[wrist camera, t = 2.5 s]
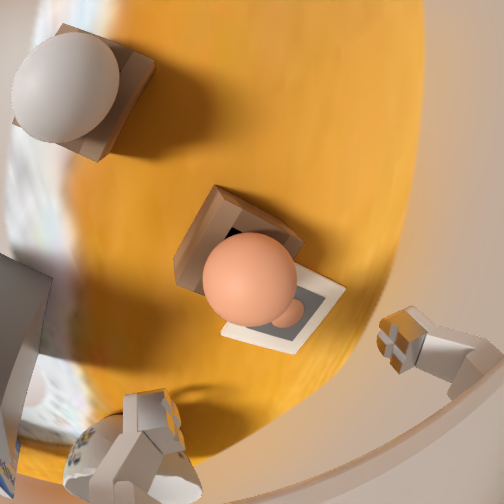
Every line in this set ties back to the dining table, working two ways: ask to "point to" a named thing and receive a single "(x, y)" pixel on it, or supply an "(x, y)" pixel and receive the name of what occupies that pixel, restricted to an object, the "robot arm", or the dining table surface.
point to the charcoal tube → (18, 342)
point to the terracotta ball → (249, 279)
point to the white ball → (65, 87)
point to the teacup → (97, 446)
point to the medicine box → (9, 474)
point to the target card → (293, 315)
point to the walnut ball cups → (218, 201)
